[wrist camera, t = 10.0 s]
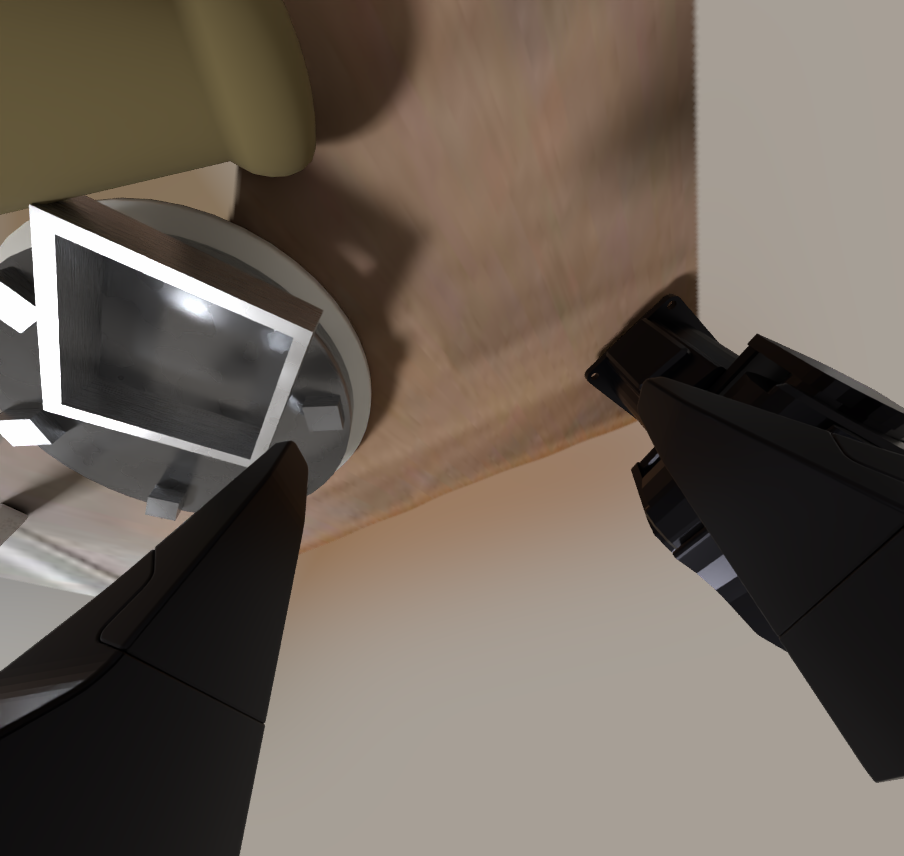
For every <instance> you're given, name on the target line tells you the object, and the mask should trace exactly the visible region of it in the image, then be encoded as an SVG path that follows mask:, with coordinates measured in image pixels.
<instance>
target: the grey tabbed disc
mask: <svg viewBox="0 0 904 856" xmlns="http://www.w3.org/2000/svg"><path fill="white" fill-rule="evenodd" d="M29 212H30V226H31V240H32V247H30V248H28V249H26V250H23V251H21V252H19V253H17V254H14V255H12V256H10V257H8V258H7V259H5V260H4V261H3V262H1V263H0V409H1V410H2V411H3V412H1V413H0V434H1V435H2V436H3V437H4V438H5V439H6V440H7V441H8V442H9V443H10V444H11V445H12V446H26V445H38V446H39V447H40V448H41V449H43V450H44V451H45V452H46V453H48V454H49V455H51V456H52V457H54V458H55V459H57V460H58V461H60V462H61V463H62V464H64V465H65V466H67V467H69V468H70V469H72V470H74V471H76V472H77V473H79V474H81V475H83V476H84V477H86V478H88V479H90V480H92V481H94V482H96V483H99V484H101V485H103V486H105V487H107V488H109V489H112V490H114V491H117V492H119V493H122V494H124V495H127V496H129V497H132V498H135V499H139V500H142V501H145V502H147V506H146V513H145V514H146V515H151V516H155V517H160V518H165V519H170V520H174V521H175V520H176V518H177V517H178V515H179V513H180V512H181V510H183V511H188V512H196V511H198V510H199V509H200V508H201V507H202V506H203V505H205V504H206V503H207V502H208V501H209V500H210V499H212V498H213V497H214V496H215V495H216V494H217V493H219V492H220V491H221V490H222V489H223V488H224V487H225V486H227V485H228V484H229V483H230V482H231V481H232V480H234V479H235V478H236V477H237V476H238V475H239V474H241V473H242V472H243V471H244V470H245V469H246V468H248V467H249V466H250V465H251V464H252V463H253V462H254V461H256V460H257V459H258V458H259V457H260V456H261V455H263V454H264V453H265V452H266V451H267V450H268V449H270V448H271V447H272V446H273V445H274V444H276V443H278V442H284V441H290V440H291V441H294V442H295V443H296V444H297V446H298V448H299V450H300V452H301V453H302V455H303V457H304V459H305V461H306V462H307V465H308V484H307V496H308V495H309V494H311V493H313V492H314V491H316V490H317V489H318V488H319V487H321V486H322V485H323V484H324V483H325V482H326V481H327V480H328V479H329V478H330V477H331V476H332V475H333V474H334V472H335V471H336V469H337V468H338V466H339V465H340V463H341V461H342V459H343V457H344V455H345V452H346V449H347V445H348V441H349V436H350V431H351V426H352V420H353V410H354V400H353V390H352V385H351V381H350V377H349V374H348V371H347V368H346V366H345V363H344V361H343V359H342V356H341V354H340V353H339V351H338V349H337V347H336V346H335V344H334V342H333V341H332V339H331V337H330V336H329V335H328V333H327V332H326V331H325V329H324V328H323V327H322V325H321V324H320V323H319V321H320V318H321V316H322V313H323V311H324V310H322V309H320V308H318V307H316V306H314V305H312V304H310V303H308V302H306V301H304V300H302V299H299V298H297V297H295V296H293V295H291V294H290V293H289V292H288V291H287V290H286V289H284V288H283V287H282V286H281V285H279V284H278V283H276V282H275V281H274V280H272V279H271V278H269V277H268V276H266V275H265V274H263V273H262V272H261V271H259V270H257V269H255V268H254V267H252V266H250V265H248V264H246V263H245V262H243V261H241V260H239V259H237V258H236V257H234V256H231V255H229V254H227V253H224V252H222V251H220V250H217V249H215V248H213V247H210V246H208V245H205V244H202V243H199V242H196V241H192V240H189V239H186V238H183V237H180V236H175V235H170V234H165V233H162V232H160V231H158V230H156V229H154V228H152V227H150V226H148V225H146V224H143V223H141V222H139V221H137V220H135V219H133V218H131V217H129V216H127V215H125V214H123V213H121V212H119V211H116V210H114V209H112V208H110V207H108V206H106V205H104V204H102V203H100V202H98V201H96V200H94V199H91V198H89V197H87V196H85V195H84V196H78V197H74V198H70V199H66V200H61V201H57V202H53V203H48V204H29Z"/></svg>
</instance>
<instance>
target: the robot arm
mask: <svg viewBox="0 0 904 856" xmlns="http://www.w3.org/2000/svg"><path fill="white" fill-rule="evenodd" d="M671 301H672V304H671V305H670V306H668V304H669V302H671ZM667 306H668V307H667ZM748 345H749V346H748V347H747V348H746V349H745V350H744V352H743V353H742V354H741V355H740V356H738V355H737V354H735V353H734V352H732V351H731V350H729V349H728V348H725V347H724V346H723V345H721V344H720V343H719V342H718V341H717V340H716V339H715V338H714V337H713V335H712V334H711V333H710V332H709V331H708V330H707V329H706V327H705V326H704V325H703V324H702V323H701V322H700V320H699V319H698V318H697V317H696V316H695V315H694V313H693V312H692V311H691V310H690V309H689V308H688V307H687V305H686V304H685V303H684V302H683V301H682V300H681V298H679V297H678V296H676V295H674V294H668V295H666V296H665V297H663V298H662V299H661V300H660V301H659V302H658V303H657V304H656V305H655V306H654V307H653V308H652V309H651V310H649V311H648V312H647V313H646V314H645V315H644V316H643V317H642V318H641V319H640V320H639V321H638V322H637V323H636V324H635V325H634V326H633V327H632V328H631V329H629V330H628V331H627V332H626V333H625V334H624V335H623V336H622V337H621V338H620V339H619V340H618V341H617V342H616V343H615V344H614V345H613V346H612V347H611V348H609V349H608V350H607V351H606V352H605V353H604V354H603V355H602V356H601V357H600V358H599V359H598V360H597V361H596V362H595V363H594V364H593V365H592V366H590V367H589V368H588V369H587V371H586V372H585V378H586V379H587V381H588V382H589V383H590V384H592V385H593V386H594V387H596V388H597V389H598V390H600V391H601V392H602V393H603V394H605V395H606V396H607V397H609V398H610V399H611V400H612V401H614V402H615V403H616V404H618V405H619V406H620V407H622V408H623V409H624V410H625V411H627V412H628V413H629V414H631V415H632V416H633V417H634V418H636V419H637V420H638V421H639V422H640V424H641V425H642V426H643V427H644V428H645V430H646V431H647V432H648V434H649V436H650V439H651V440H652V442H653V444H654V446H655V447H654V448H653V449H652V450H651V451H650V452H649V453H648V454H647V455H646V456H645V457H644V458H643V460H642V461H641V462H637V463H636V464H635V465H634V467H633V468H632V469H631V471H632V474H633V477H634V480H635V483H636V487H637V489H638V493H639V496H640V498H641V502H642V505H643V508H644V511H645V514H646V517H647V520H648V522H649V524H650V527H651V529H652V530H653V533H654V535H655V536H656V537H657V538H658V539H659V540H660V541H661V542H662V543H663V544H664V545H665V546H666V547H667V548H668V549H669V550H670V551H671V552H672V553H673V555H674V557H675V558H676V559H677V560H679V561H680V562H682V563H683V564H685V565H686V566H687V567H689V568H690V569H691V570H693V571H694V572H696V573H697V574H698V575H699V576H700V577H702V578H703V579H704V580H705V581H706V582H707V583H708V584H710V585H711V586H712V587H713V588H714V589H715V590H716V591H717V592H718V593H719V594H720V595H721V596H722V597H723V598H724V599H725V600H726V601H727V602H728V603H729V604H730V605H731V606H732V607H733V608H734V610H735V611H736V612H737V613H738V614H739V615H740V616H741V617H742V618H743V620H744V621H745V622H746V623H747V624H748V625H749V626H750V627H751V628H752V629H753V631H754V632H756V633H757V634H758V635H759V636H761V637H762V638H764V639H766V640H768V641H769V642H771V643H773V644H775V645H776V646H778V647H780V648H782V649H783V650H785V651H786V652H788V653H789V655H790V657H791V658H792V660H793V661H794V663H795V664H796V666H797V667H798V669H799V670H800V672H801V673H802V675H803V676H804V678H805V679H806V681H807V682H808V684H809V685H810V686H811V688H812V690H813V691H814V693H815V694H816V696H817V697H818V699H819V701H820V702H821V703H822V705H823V707H824V708H825V710H826V711H827V713H828V714H829V716H830V717H831V719H832V720H833V722H834V723H835V725H836V726H837V728H838V729H839V731H840V732H841V734H842V735H843V737H844V738H845V740H846V741H847V743H848V744H849V746H850V747H851V749H852V750H853V752H854V754H855V755H856V757H857V758H858V760H859V761H860V763H861V764H862V766H863V767H864V768H865V770H866V771H867V773H868V774H869V775H870V776H871V777H872V779H873V780H874V781H875V782H876V783H879V782H885V781H891V780H897V779H903V778H904V408H903V407H901V406H899V405H898V404H896V403H895V402H893V401H891V400H890V399H888V398H887V397H885V396H883V395H882V394H880V393H878V392H877V391H875V390H873V389H872V388H870V387H868V386H866V385H864V384H862V383H860V382H858V381H856V380H854V379H852V378H850V377H848V376H846V375H844V374H843V373H840V372H838V371H837V370H835V369H833V368H831V367H829V366H827V365H825V364H823V363H821V362H819V361H816V360H814V359H812V358H810V357H807V356H805V355H803V354H801V353H799V352H797V351H794V350H792V349H790V348H788V347H786V346H783V345H781V344H779V343H777V342H774V341H772V340H770V339H768V338H766V337H763V336H761V335H759V334H756V335H755V336H754V337H753V338H752V339H751V341H750V342H749V343H748ZM594 373H596V374H595V375H594V376H593V377H591V376H592V374H594ZM307 484H308V465H307V462H306V461H305V459H304V457H303V455H302V453H301V452H300V450H299V448H298V446H297V444H296V443H295V442H294V441H291V440H290V441H284V442H278V443H276V444H274V445H273V446H272V447H271V448H270V449H268V450H267V451H266V452H265V453H264V454H263V455H261V456H260V457H259V458H258V459H257V460H256V461H254V462H253V463H252V464H251V465H250V466H249V467H248V468H246V469H245V470H244V471H243V472H242V473H241V474H239V475H238V476H237V477H236V478H235V479H234V480H232V481H231V482H230V483H229V484H228V485H227V486H225V487H224V488H223V489H222V490H221V491H220V492H219V493H217V494H216V495H215V496H214V497H213V498H212V499H210V500H209V501H208V502H207V503H206V504H205V505H203V506H202V507H201V508H200V509H199V510H198V511H196V512H195V513H194V514H193V515H192V516H191V517H190V518H188V519H187V520H186V521H185V522H184V523H183V524H181V525H180V526H179V527H178V528H177V529H176V530H174V531H173V532H172V533H171V534H170V535H169V536H167V537H166V538H165V539H164V540H163V541H162V542H161V543H159V544H158V545H157V546H156V547H155V550H151V551H150V552H149V553H148V554H147V555H145V556H144V557H143V558H142V559H141V560H140V561H138V562H137V563H136V564H135V565H134V566H133V567H131V568H130V569H129V570H128V571H127V572H125V573H124V574H123V575H122V576H121V577H119V578H118V579H117V580H116V581H115V582H114V583H112V584H111V585H110V586H109V587H107V588H106V589H105V590H104V591H102V592H101V593H100V594H99V595H97V596H96V597H95V598H94V599H93V600H91V601H90V602H89V603H87V604H86V605H85V606H84V607H82V608H81V609H80V610H78V611H77V612H76V613H75V614H74V615H72V616H71V617H70V618H68V619H67V620H66V621H64V622H63V623H62V624H61V625H59V626H58V627H57V628H55V629H54V630H53V631H52V632H50V633H49V634H48V635H46V636H45V637H44V638H43V639H41V640H40V641H39V642H37V643H36V644H35V645H34V646H32V647H31V648H30V649H29V650H27V651H26V652H25V653H24V654H22V655H21V656H19V657H18V658H17V659H16V660H15V661H13V662H12V663H10V664H9V665H8V666H7V667H5V668H4V669H3V670H1V671H0V856H239V854H240V850H241V845H242V840H243V834H244V829H245V824H246V819H247V814H248V809H249V804H250V798H251V794H252V789H253V784H254V779H255V774H256V769H257V764H258V758H259V753H260V748H261V743H262V738H263V732H264V728H265V725H264V723H265V721H266V716H267V711H268V706H269V701H270V696H271V691H272V686H273V681H274V676H275V671H276V665H277V661H278V655H279V650H280V645H281V640H282V635H283V630H284V624H285V620H286V615H287V610H288V605H289V599H290V595H291V590H292V585H293V579H294V574H295V569H296V564H297V559H298V554H299V549H300V544H301V539H302V534H303V528H304V522H305V511H306V497H307Z"/></svg>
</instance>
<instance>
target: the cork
mask: <svg viewBox="0 0 904 856" xmlns="http://www.w3.org/2000/svg"><path fill="white" fill-rule="evenodd" d="M315 148H316V126H315V112H314V104H313V96H312V91H311V85H310V81H309V76H308V72H307V68H306V64H305V61H304V57H303V54H302V51H301V47H300V44H299V41H298V38H297V35H296V33H295V30H294V27H293V25H292V22H291V20H290V17H289V14H288V12H287V9H286V6H285V4H284V2H283V1H282V0H0V215H1V214H5V213H10V212H14V211H18V210H23V209H27V208H29V204H48V203H53V202H57V201H61V200H66V199H70V198H74V197H78V196H83V195H87V194H91V193H95V192H99V191H104V190H108V189H113V188H117V187H121V186H125V185H130V184H134V183H138V182H143V181H147V180H151V179H156V178H160V177H164V176H168V175H173V174H177V173H181V172H185V171H190V170H194V169H198V168H203V167H206V166H211V165H215V164H220V163H224V162H228V161H231V162H233V163H234V164H236V165H238V166H240V167H242V168H244V169H246V170H247V171H249V172H251V173H253V174H258V175H263V176H269V177H280V176H289V175H292V174H294V173H297V172H299V171H302V170H303V169H304V168H305V167H306V166H307V165H308V164H309V163H310V162H311V161H312V159H313V156H314V152H315Z"/></svg>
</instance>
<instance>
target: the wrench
mask: <svg viewBox="0 0 904 856" xmlns="http://www.w3.org/2000/svg"><path fill="white" fill-rule="evenodd" d="M27 518H28V515H26V514H24V513H22V512H20V511H17V510H15V509H13V508H11V507H8V506H6V505H4V504H0V546H1V545H2V544H3V543H4V542H5V541H6V540H7V539H8V538H9V537H10V536H11V535H12V534H13V533H14V532H15V531H16V530H17V529H18V528H19V527H20V526H21V525H22V524H23V523H24V522H25V520H26V519H27Z"/></svg>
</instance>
